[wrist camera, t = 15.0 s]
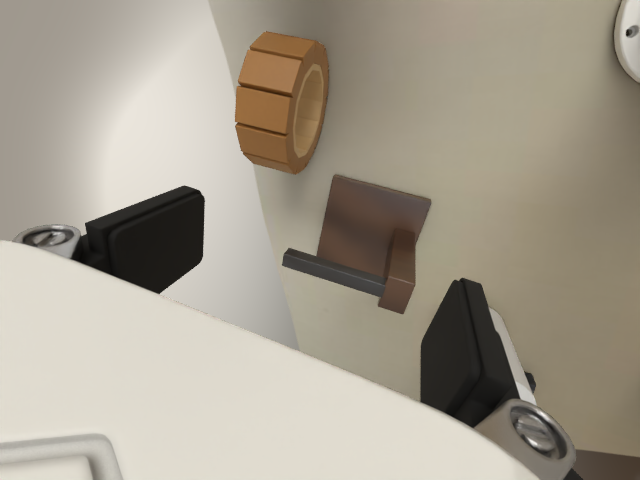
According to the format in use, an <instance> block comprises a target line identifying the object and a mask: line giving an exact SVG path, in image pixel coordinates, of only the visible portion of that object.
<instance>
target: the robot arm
mask: <svg viewBox="0 0 640 480" xmlns="http://www.w3.org/2000/svg"><path fill="white" fill-rule="evenodd" d="M626 30H628V31H629V35H628V36H627V37H626ZM614 40H615V50H616V53H617V56H618V60H619V62H620V64H621V65H622V67H623V68H624V70H625V71H626V73H627V74H628V75H630V76H631V77H632V78H633V79H634V80H635V81H637V82H639V83H640V0H622V2H621V5H620V8H619V11H618V14H617V17H616V24H615V31H614ZM204 202H205V200H204V196H203V195H202V194H201V192H200V191H199V190H197V189H194V188H191V187H188V186H181V187H179V188H176V189H174V190H171V191H168V192H166V193H163V194H160V195H158V196H155V197H152V198H150V199H147V200H145V201H142V202H139V203H137V204H134V205H131V206H129V207H126V208H124V209H121V210H118V211H116V212H113V213H111V214H108V215H105V216H103V217H100V218H98V219H95V220H92V221H89V222H87V223H85V226H86V231H87V234H86V235H83V236H81V233H80V231H79V230H78V229H77V228H75V227H72V226H68V225H58V224H55V225H43V226H37V227H33V228H30V229H27V230H25V231H23V232H21V233H19V234H18V235H17V236H16V237H15V238H14V240H13V241H12V242H9V241H3V240H0V480H583V479H582V478H581V477H580V476H579V475H578V474H577V473H576V472H575V471H574V470H573V469H572V466H573V465H574V463H575V459H576V453H575V448H574V445H573V443H572V441H571V439H570V437H569V436H568V434H567V433H566V432H565V430H564V429H563V428H562V426H561V425H560V424H559V423H558V422H557V421H556V420H555V419H554V418H553V417H552V416H551V415H549V414H548V413H547V412H545V411H544V410H543V409H541V408H540V407H538V406H536V405H534V404H532V403H531V402H528V401H525V400H522V399H521V398H520V395H519V392H518V389H517V386H516V383H515V380H514V377H513V373H512V370H511V367H510V364H509V361H508V358H507V355H506V352H505V349H504V346H503V343H502V340H501V337H500V335H499V333H498V332H497V331H496V330H495V326H494V323H493V320H492V317H491V314H490V310H489V307H488V304H487V301H486V298H485V294H484V291H483V288H482V285H481V284H480V283H477V282H474V281H471V280H468V279H465V278H461V279H460V280H459V281H457V280H454V281H453V282H452V284H451V286H450V287H449V289H448V291H447V293H446V295H445V297H444V299H443V301H442V303H441V305H440V307H439V309H438V310H437V312H436V314H435V316H434V318H433V320H432V322H431V324H430V326H429V328H428V330H427V332H426V334H425V335H424V337H423V340H422V343H421V402H419V401H417V400H415V399H412V398H410V397H408V396H406V395H404V394H401V393H399V392H397V391H395V390H392V389H390V388H387V387H385V386H383V385H380V384H378V383H375V382H373V381H370V380H368V379H366V378H363V377H361V376H358V375H356V374H353V373H351V372H349V371H346V370H344V369H341V368H339V367H336V366H334V365H332V364H329V363H327V362H324V361H322V360H319V359H317V358H315V357H312V356H310V355H307V354H305V353H302V352H300V351H297V350H295V349H292V348H290V347H287V346H285V345H282V344H280V343H278V342H275V341H273V340H270V339H268V338H265V337H263V336H260V335H258V334H255V333H253V332H251V331H248V330H246V329H243V328H241V327H238V326H236V325H233V324H230V323H228V322H226V321H223V320H221V319H218V318H216V317H214V316H211V315H208V314H206V313H204V312H201V311H199V310H196V309H194V308H191V307H189V306H186V305H184V304H182V303H179V302H177V301H174V300H171V299H169V298H167V297H164V296H162V295H159V294H160V293H161V292H162V291H163V290H165V289H166V288H168V287H169V286H170V285H172V284H173V283H174V282H175V281H177V280H178V279H180V278H181V277H182V276H183V275H185V274H186V273H187V272H189V271H190V270H191V269H193V268H194V267H195V266H197V265H198V264H199V263H200V262H201V260H202V257H203V236H204Z"/></svg>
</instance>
